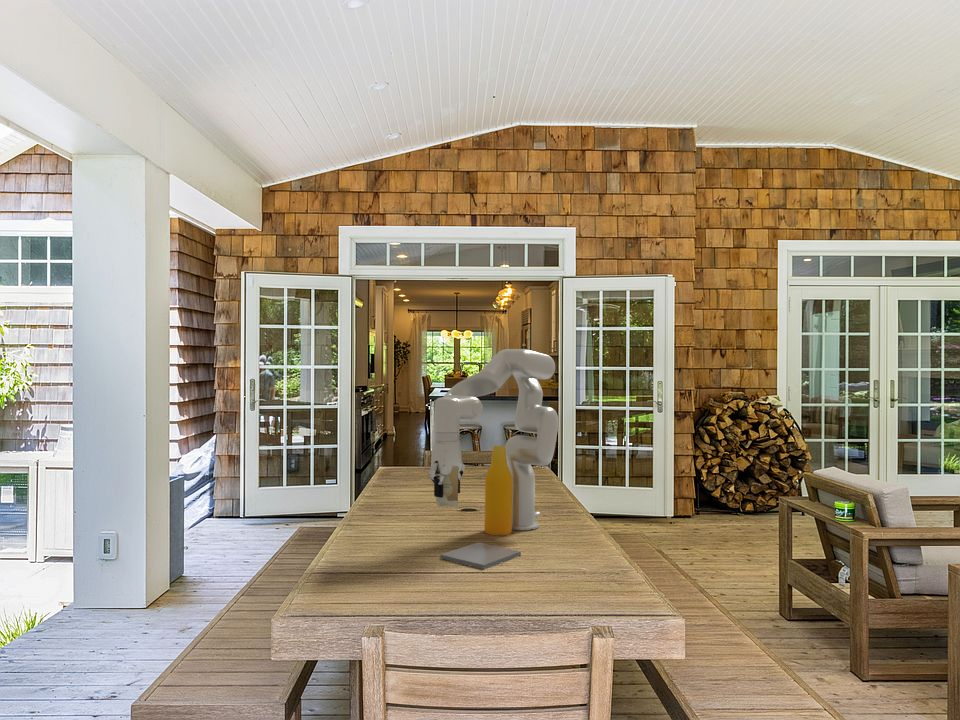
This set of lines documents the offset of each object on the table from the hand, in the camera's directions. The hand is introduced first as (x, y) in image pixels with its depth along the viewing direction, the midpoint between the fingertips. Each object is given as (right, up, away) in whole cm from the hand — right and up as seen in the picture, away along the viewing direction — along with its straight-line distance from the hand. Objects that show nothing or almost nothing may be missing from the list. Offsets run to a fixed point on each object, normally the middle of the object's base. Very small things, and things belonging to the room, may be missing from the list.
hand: (447, 494), depth 217 cm
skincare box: (0, -4, 0) cm, 4 cm away
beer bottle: (+16, -17, +20) cm, 31 cm away
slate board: (+10, -17, -10) cm, 22 cm away
